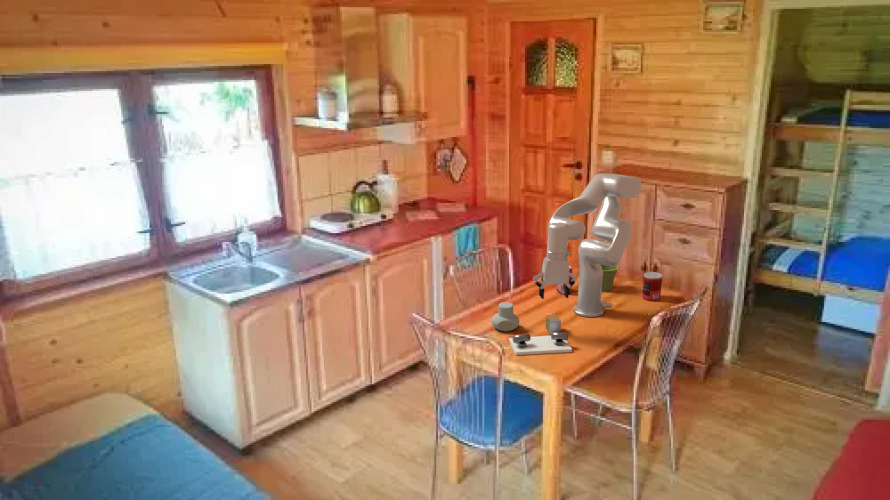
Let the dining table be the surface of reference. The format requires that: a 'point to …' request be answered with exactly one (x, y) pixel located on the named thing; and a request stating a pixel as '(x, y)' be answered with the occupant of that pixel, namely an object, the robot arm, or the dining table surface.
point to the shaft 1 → (521, 340)
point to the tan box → (553, 323)
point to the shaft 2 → (559, 337)
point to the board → (540, 346)
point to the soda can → (561, 287)
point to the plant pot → (608, 277)
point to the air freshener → (505, 317)
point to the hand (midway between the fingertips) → (554, 297)
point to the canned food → (652, 286)
